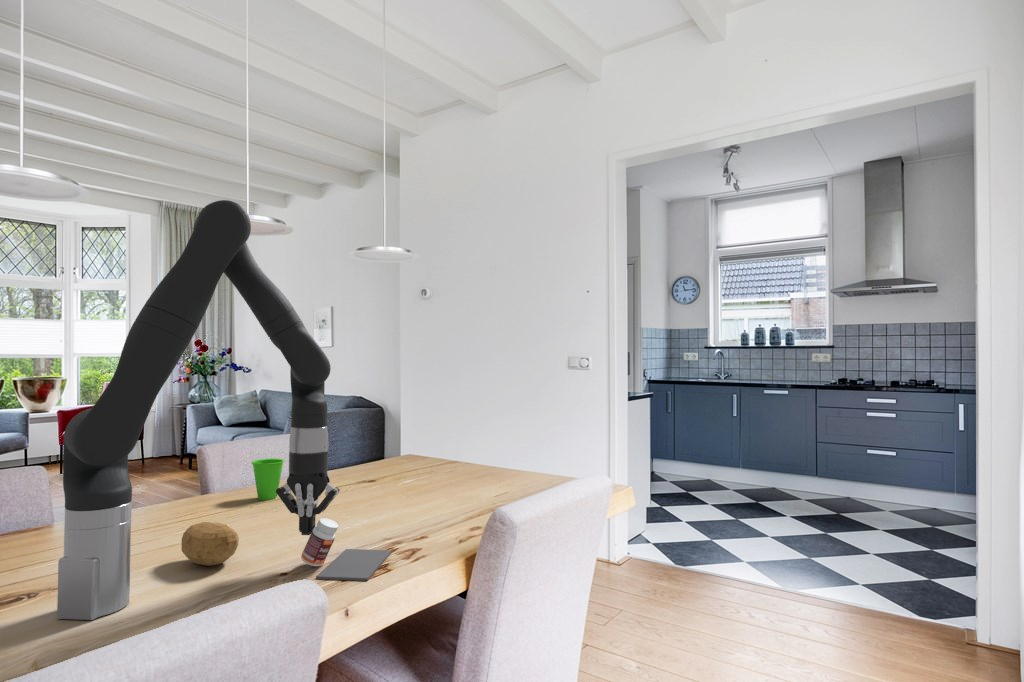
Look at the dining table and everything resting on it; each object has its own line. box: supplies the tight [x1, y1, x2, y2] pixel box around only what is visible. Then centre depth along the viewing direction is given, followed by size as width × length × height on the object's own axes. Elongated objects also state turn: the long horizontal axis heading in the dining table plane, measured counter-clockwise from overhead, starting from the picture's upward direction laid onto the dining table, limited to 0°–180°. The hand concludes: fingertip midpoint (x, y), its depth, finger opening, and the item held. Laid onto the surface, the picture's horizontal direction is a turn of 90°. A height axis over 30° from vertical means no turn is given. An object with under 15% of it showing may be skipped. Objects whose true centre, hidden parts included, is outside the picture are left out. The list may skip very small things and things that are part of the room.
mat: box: [315, 548, 392, 582], centre depth 120 cm, size 16×10×1 cm, turn 176°
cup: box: [251, 457, 285, 501], centre depth 175 cm, size 9×9×11 cm
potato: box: [181, 521, 240, 567], centre depth 120 cm, size 10×14×8 cm
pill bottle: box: [300, 517, 339, 567], centre depth 119 cm, size 5×5×8 cm
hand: (307, 534), depth 120 cm, fingers closed
